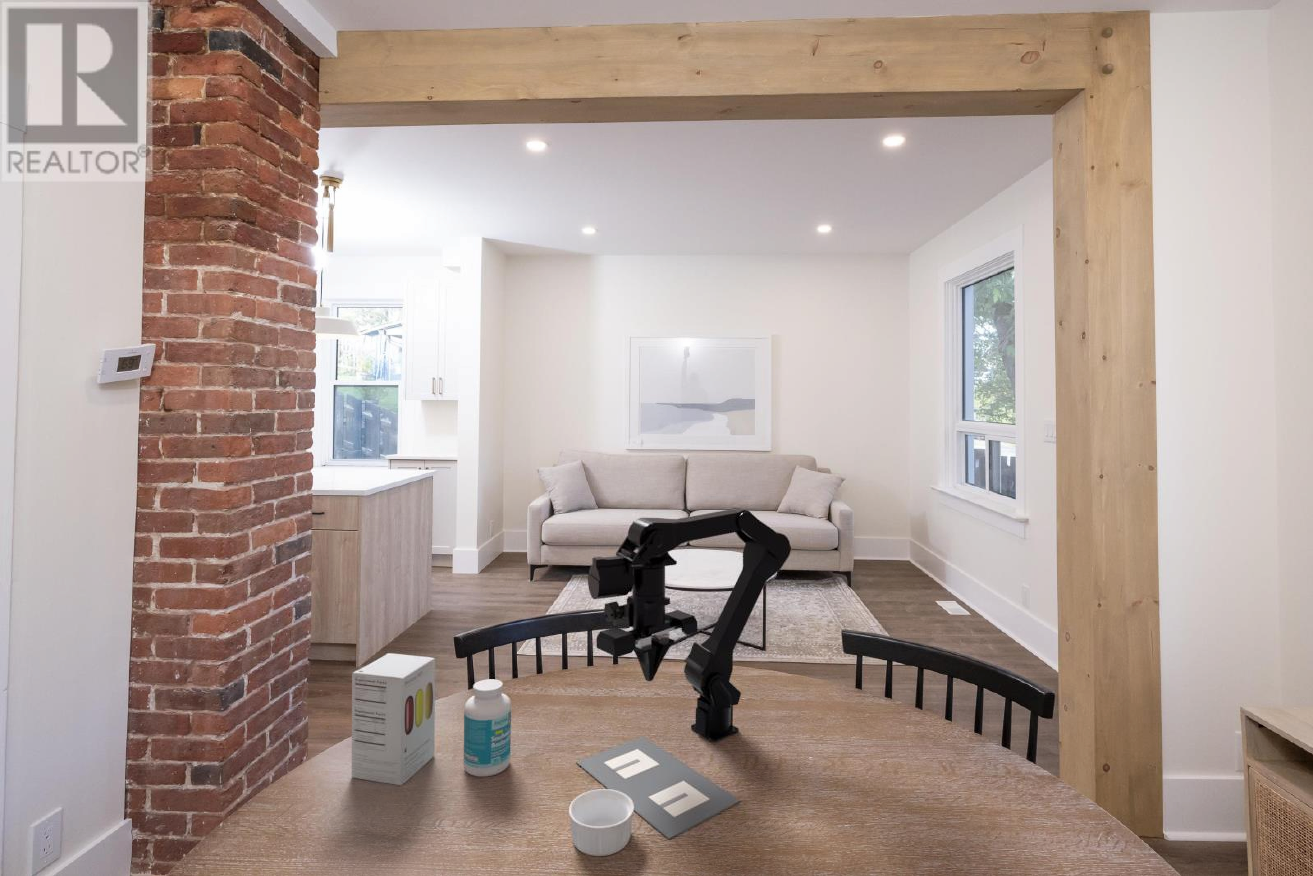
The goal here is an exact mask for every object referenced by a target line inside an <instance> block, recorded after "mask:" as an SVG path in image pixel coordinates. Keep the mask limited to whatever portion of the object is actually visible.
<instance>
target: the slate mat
mask: <svg viewBox="0 0 1313 876" xmlns="http://www.w3.org/2000/svg"><path fill="white" fill-rule="evenodd" d="M575 764H577V765H578V766H579V767H580V766H581V767H580V768H582V769H583V770H584V771H585V772H586V773H588V775H589V776H591V777H593V779H595V780H596V781H597V782H598V783H599V784H601V785H602V786H603V787H604V788H605V789H611V790H616V791H619V792H622V793H624V794H626V795H627V796H628V797H630V798H631V800H632V801H633V804H634V813H635V814H637V815H638V816H639V817H641V818H642V819H643V820H644V821H645V822H647V823H648V824H649V825H650V826H652V827H653V828H654V829H655V830H656V831H658V832H659V833H660V834H661V835H663V836H664V837H665V838H667V840H671V839H673V838H675V837H676V836H678V835H680V834H682V833H684V832H686V831H688V830H690V829H691V828H694V827H695V826H698V825H699V824H701V823H703V822H704V821H706V820H709V819H710V818H712V817H714V816H716V815H718V814H721V813H722V812H724V811H726V810H728V809H730V808H731V807H733V806H735V805H737V804H739V803H741V802H742V801H741V800H740V799H739V798H737V797H736V796H734V795H733V794H732V793H730V792H728V791H727V790H726V789H724V788H723V787H721V786H720V785H718V784H716V782H713V781H712V780H710V779H709V778H708V777H706V776H704V775H703V774H701V773H700V772H698V771H696V770H695V769H694V768H693V767H690V766H689V765H687V764H686V763H684V762H683V761H681V760H680V759H678V758H677V757H676V756H674V755H673V754H671V753H670V752H668V751H666V750H665V749H663V748H662V747H660V746H659V745H657V744H656V743H654V742H652V740H650V739H648V738H646V737H645V736H640V737H638V738H635V739H632V740H629V741H627V742H625V743H621V744H619V745H616V746H614V747H611V748H609V749H606V750H603V751H601V752H599V753H596V754H593V755H590V756H588V757H585V758H583V759H580V760H577V761H575Z"/></svg>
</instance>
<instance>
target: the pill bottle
mask: <svg viewBox="0 0 1313 876" xmlns="http://www.w3.org/2000/svg"><path fill="white" fill-rule="evenodd" d="M503 691H504V683H503V682H502V681H501V680H499V679H493V678H492V679H490V678H489V679H487V678H486V679H481V680H479V681H477V682H475V683H474V684H473V685H472V694H473V695H472V696H471V697H469V698H468V699H467V700H466V703H465V704H464V709H463V768H464V770H465V772H466V773H468V774H469V775H471V776H475V777H482V778H484V777H490V776H495V775H497V774H500V773H501V772H503V771H505V770H506V768H508V766H510V762H511V746H512V745H511V743H512V742H511V738H512V737H511V736H512V735H511V732H512V728H511V727H512V724H511V723H512V722H511V721H512V716H511V715H512V702H511V699H510V698H509V696H508V695H506V694H505V693H503Z"/></svg>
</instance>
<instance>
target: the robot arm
mask: <svg viewBox="0 0 1313 876" xmlns="http://www.w3.org/2000/svg"><path fill="white" fill-rule="evenodd" d="M732 533H735V535H736V536H737V537H738V539H740V540H741V541H742V542H743V543H744V547H743V552H742V569H741V571H740V574H739V576H738V578H737V580H736V582H735V584H734V586H733V588H732V590H731V591H730V594H729V596H728V599H727V600H726V602H725V604H724V606H723V609H722V610H721V612H720V615H719V617H718V619H717V621H716V623H715V625H714V628H713V630H712V631H711V634H710V636H709V637H708V638H707V639H706V640H705V641H704V642H702V643H701V644H700V643H698V642H697V641H695V642H694V643H693V644H692V646H691V648H690V652H689V654H688V656H687V657H685V659H684V662H685V665H684V669H683V673H684V676H685V679H686V680H687V682H688V683H689V684H690V685H691V687H692V690H693V691H694V692H696V693H698V694H699V697H697V698H696V708H695V723H693V724H691V725H690V729H691V730H693V731H694V732H695V733H698V734H700V735H702V736H703V737H705V738H706V739H708V740H710V741H711V742H714V743H715V742H718V741H721V740H723V739H725V738H728V737H730V736H732V735H734V734H737V733H739V730H740V729H739V727H737V726H735V725H734V724H733V721H734V719H733V717H734V706H737V705H739V702H740V699H741V696H742V692H741V691H740V690H739V689H738V688H737V687H736V686H734V684H733V683H732V682H731V681H730V680H731V676H732V675H733V670H734V651H735V647H736V646H737V644H738V641H739V639H740V638H741V635H742V633H743V631H744V630H745V629H744V628H745V627H746V625H747V623H748V620H749V618H750V617H751V614H752V612H753V610H754V608H755V606H756V604H757V602H758V599H759V597H760V596H761V593H762V591H763V589H764V587H765V585H766V583H767V581H768V580H770V579H771V578H772V577H773V576H774V575H775V574H777V573H778V572H779V571H781V569H782V567H783V566H784V565H785V563H786V562H787V560H788V559H789V557H790V554H791V552H792V546H791V542H790V540H789V538H788V537H787V536H786V535H785V534H783V533H780V532H777V531H775V530H774V529H773V528H772V527H770V526H769V525H767V524H766V523H764V522H763V521H761V520H760V519H758V517H756V516H755V515H754V514H753V513H752V512H751V511H750V510H747V509H743V508H739V507H731V508H729V509H726V510H725V509H724V510H721V511H719V510H718V511H714V512H709V513H702V514H697V515H692V516H687V517H682V518H681V517H680V518H664V517H639V518H636V519H635V520H633V521H632V523H631V525H630V526H629V529H628V532H627V536H626V537H625V539H624V540H623V542H622V544H620V546H619V548H618V549H617V551H616V553H615V556H614V555H613V556H607V557H602V556H595V557H594V556H593V557H592V560H591V561H592V563H591V565H590V567H589V570H588V574H587V586H588V591H589V594H590V597H591V598H592V600H601V599H608V598H609V599H610V598H616V597H623V596H627V595H628V594H629V593H631V595H629V596H627V598H626V604H625V603H624V604H622V605H619V602H618V601H616V600H615V601H611V602H607V603H604V609H603V613H604V614H603V615H604V619H605V621H606V622H613V625H614V626H615V627H612V628H608V629H604V630H600V631H599V632H598V634H597V635H596V641H595V642H596V649H599V650H601V651H603V652H604V653H607V654H609V655H611V656H613V657H617V658H619V657H622V656H625V655H629V654H632V653H633V652H634V654H635V656H636V658H637V660H638V664H639V666H640V669H641V671H642V674H643V676H644V679H645V680H646V682H651V681H654V678H655V677H656V674H657V672H658V671H659V667H660V666H661V664H662V662H663V660H664V658H665V656H666V655H667V653H668V651H669V650H670V648H671V646H672V645H674V644H675V640H674V639H672V638H670V634H669V633H670V632H671V631H675V630H679V629H681V632H682V633H683V634H684V635H685V636H689V635H691V634H692V635H693V634H695V633H698V620H697V619H696V617H695V615H694V614H690V613H687V612H684V611H682V610H678V609H677V610H673V611H670V612H666V606H669V605H671V598H669V597H667V596H666V567H668V566H676V565H677V563H678V562H677V560H676V559H674V558H673V557H672V556H671V554H670V552H671V551H674V550H675V549H676V548H678V547H680V546H681V545H683V544H685V543H687V542H693V541H699V540H702V539H703V540H704V539H708V538H712V537H718V536H723V535H728V534H732ZM637 550H638V551H637ZM636 551H637V552H636ZM622 623H623V624H624V626H625V627H627V628H632V629H631V630H628V631H627V630H624V629H622V628H620V627H617V625H619V624H622Z"/></svg>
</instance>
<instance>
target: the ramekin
mask: <svg viewBox="0 0 1313 876" xmlns="http://www.w3.org/2000/svg"><path fill="white" fill-rule="evenodd" d="M634 813H635V811H634V804H633V801H632V800H631V798H630V797H628V796H627V795H626V794H624V793H622V792H619V791H616V790H611V789H607V788H598V789H591V790H589V791H588V790H587V791H585V792H583V793H581V794H578V795H577V796H576V797H575V798H574V799H573V800H572V801H571V803H570V805H569V807H568V817H569V819H570V828H571V837H572V842H573V845H574V846H575V848H576V849H577V850H578V851H580V852H582V853H584V854H587V855H588V856H595V857H604V856H605V857H606V856H610V855H613V854H615V853H617V852H619V851H622V849H624V848H625V847H626V846H627V845H628V843H629V841H630V838H631V835H632V834H631V833H632V829H633V828H632V825H633V816H634Z"/></svg>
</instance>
